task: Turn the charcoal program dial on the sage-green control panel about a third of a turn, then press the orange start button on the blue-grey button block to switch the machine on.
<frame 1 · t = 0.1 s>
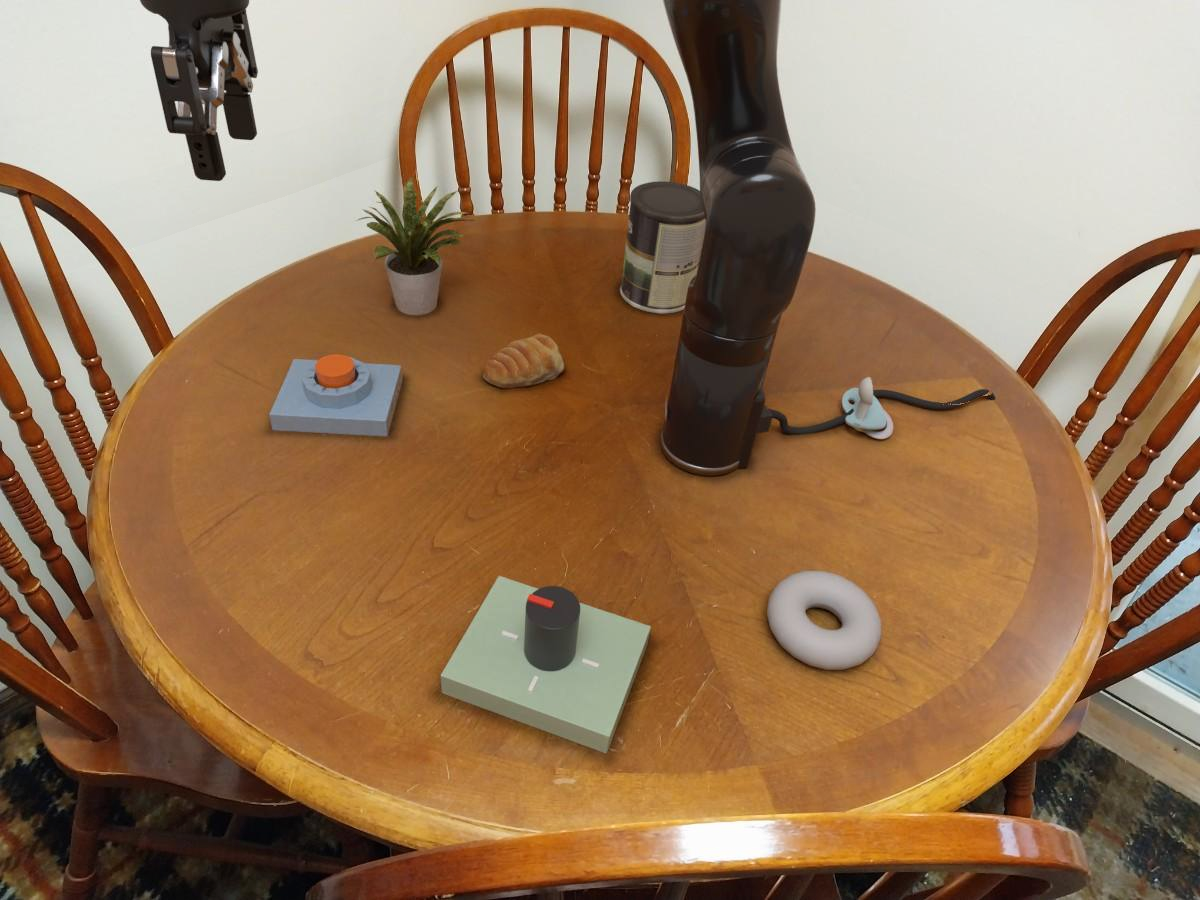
hand: (228, 157, 71), 29 cm above the table, tool pointing down, fingers open, 8 cm apart
pastry: (525, 373, 101), on the table
start button: (335, 371, 90), point 4 cm above the table, slide at 0.1 cm
house plant: (413, 311, 109), on the table
pacifier: (865, 425, 99), on the table
program dial: (551, 627, 67), point 5 cm above the table, hinge at 0.0°
coffee can: (656, 295, 117), on the table
dial panel: (548, 667, 70), on the table
button block: (340, 404, 93), on the table
donut: (818, 631, 76), on the table
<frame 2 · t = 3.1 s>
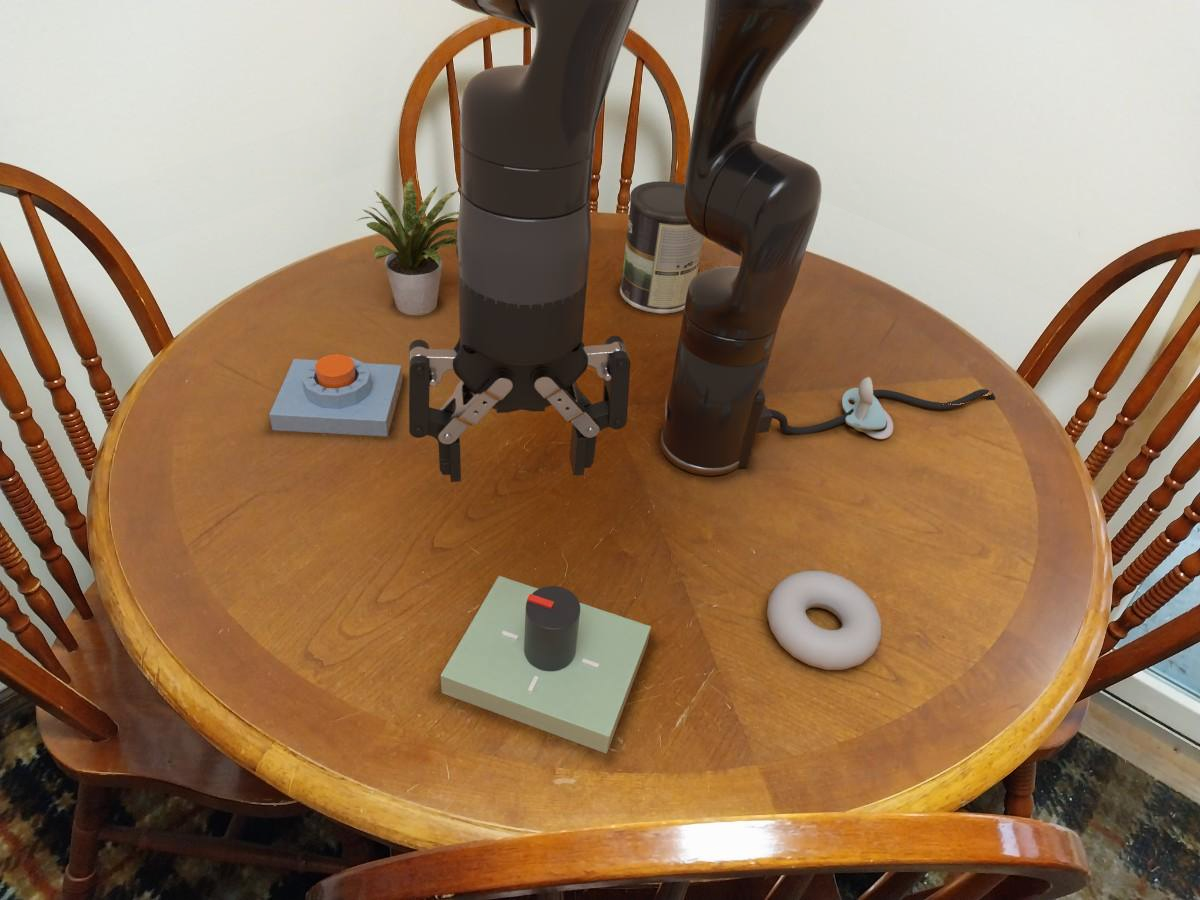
hand: (516, 470, 60), 19 cm above the table, tool pointing down, fingers open, 8 cm apart
nothing on the table moved.
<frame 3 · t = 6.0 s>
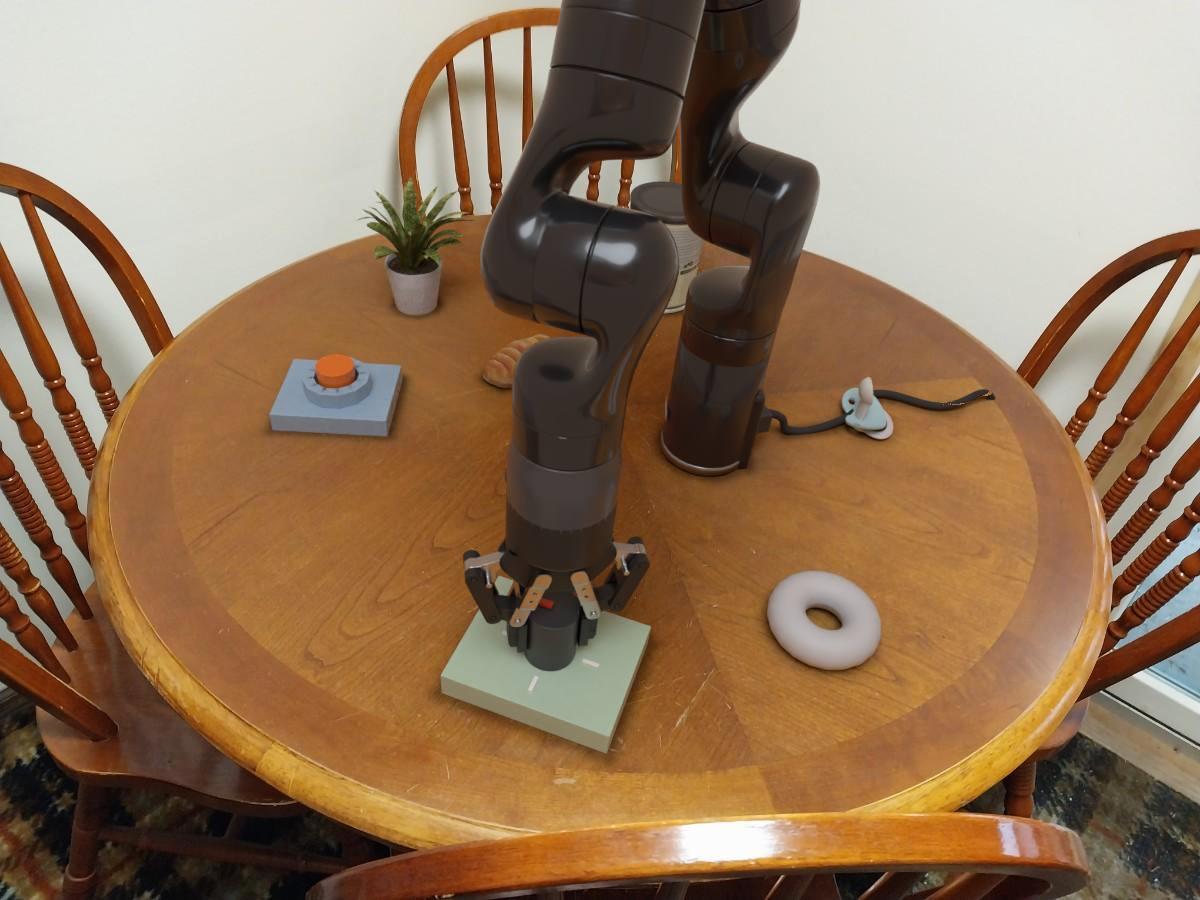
hand: (551, 639, 68), 4 cm above the table, tool pointing down, fingers closed on program dial, 4 cm apart
program dial: (551, 627, 67), point 5 cm above the table, hinge at 0.1°, touching gripper
everything else where it was.
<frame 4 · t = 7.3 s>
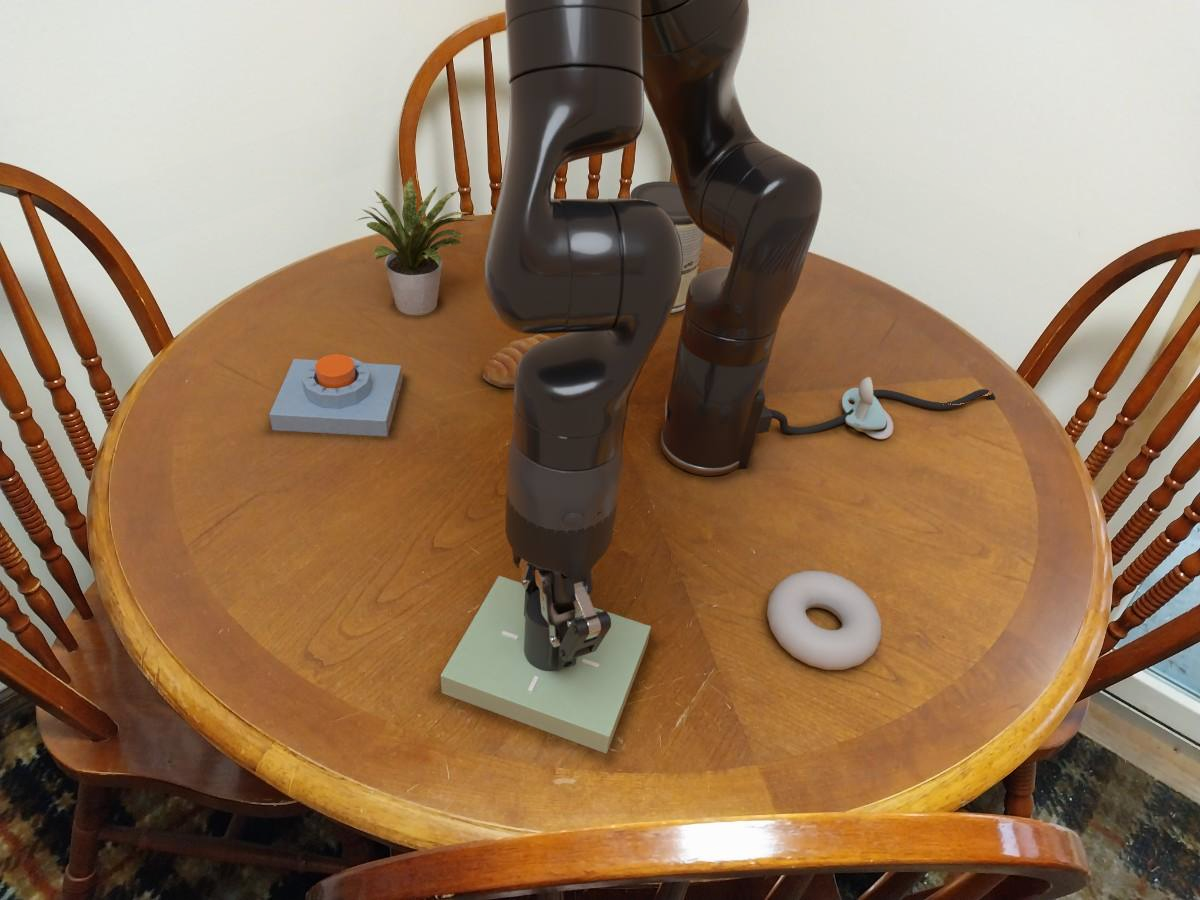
hand: (549, 639, 68), 4 cm above the table, tool pointing down, fingers closed on program dial, 4 cm apart
program dial: (551, 627, 67), point 5 cm above the table, hinge at 110.3°, touching gripper
everything else where it was.
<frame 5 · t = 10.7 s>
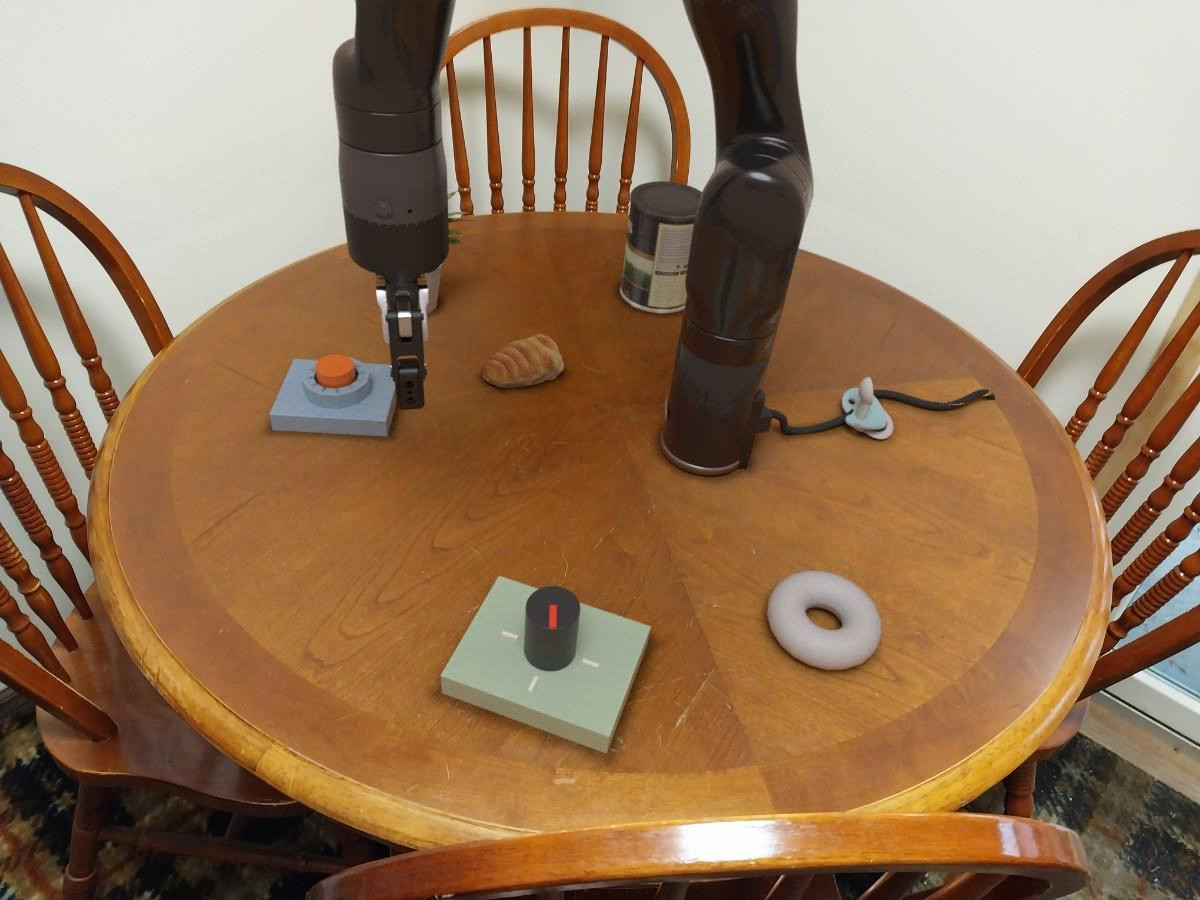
hand: (408, 375, 72), 16 cm above the table, tool pointing down, fingers open, 8 cm apart
program dial: (551, 627, 67), point 5 cm above the table, hinge at 110.4°
everything else where it was.
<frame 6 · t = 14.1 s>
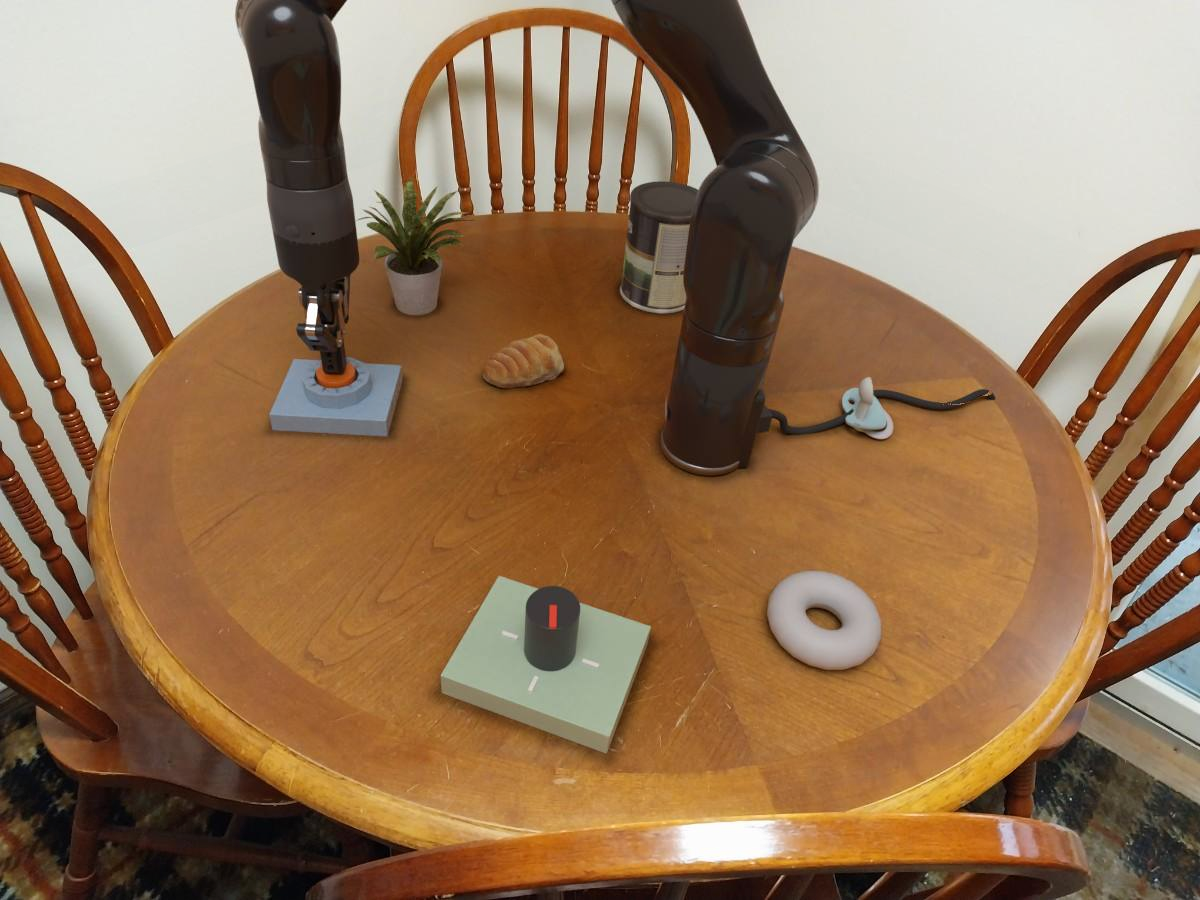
hand: (335, 370, 91), 5 cm above the table, tool pointing down, fingers closed
start button: (336, 377, 91), point 4 cm above the table, slide at -0.7 cm, touching gripper
everything else where it was.
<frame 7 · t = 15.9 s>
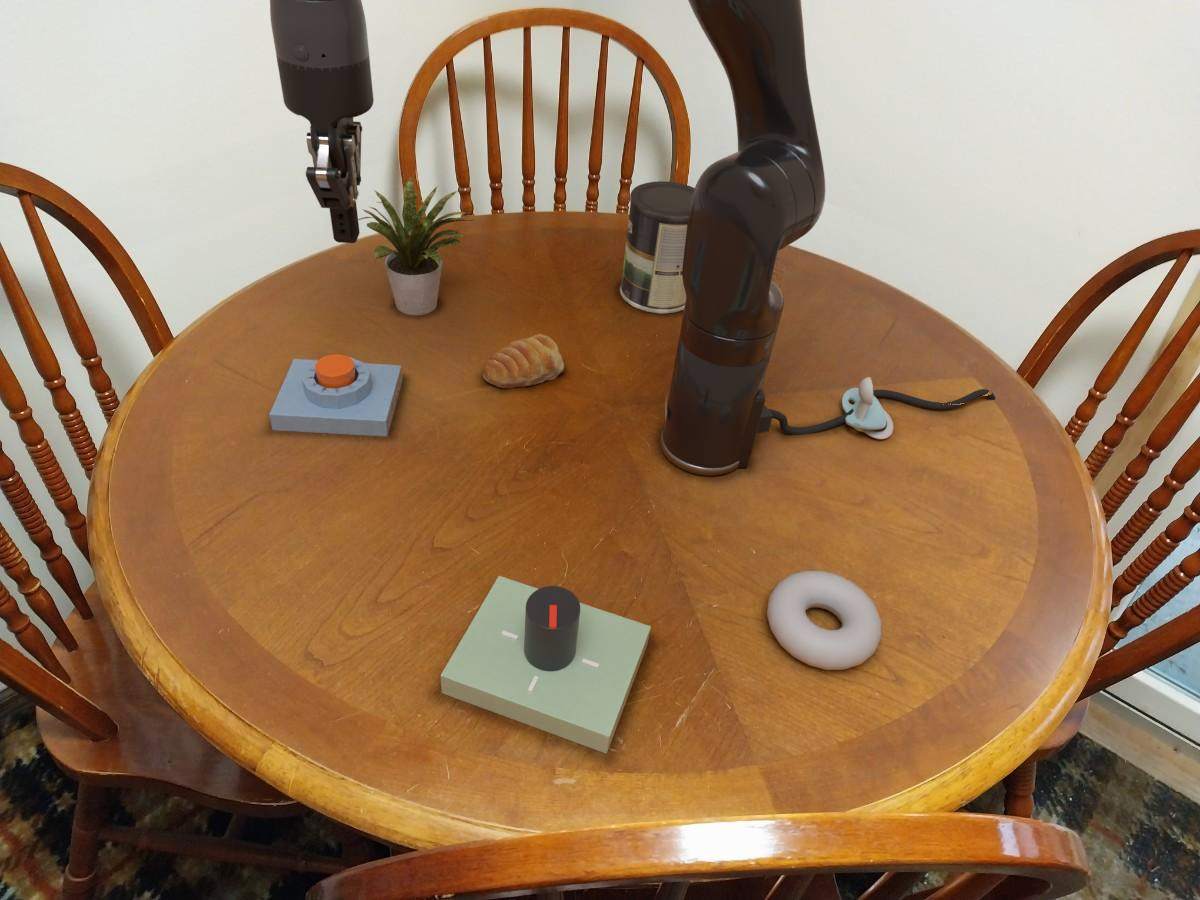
hand: (347, 238, 82), 19 cm above the table, tool pointing down, fingers closed
start button: (335, 371, 90), point 4 cm above the table, slide at 0.1 cm
everything else where it was.
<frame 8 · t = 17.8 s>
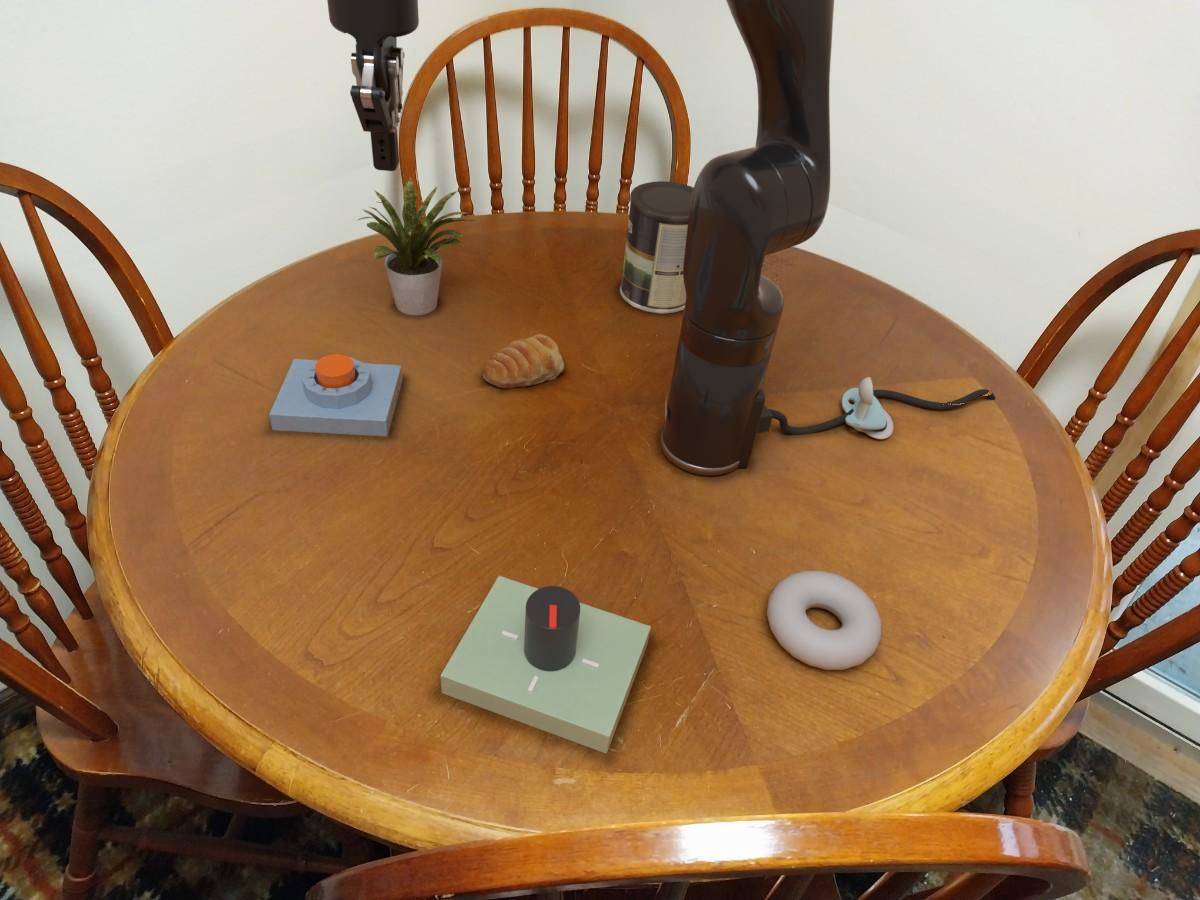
hand: (386, 167, 82), 25 cm above the table, tool pointing down, fingers closed
nothing on the table moved.
at the end: program dial at +110° (first picture: +0°); start button pushed in 1.1 cm at the most during the clip, back to where it started at the end; start button slide at 0.1 cm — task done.
